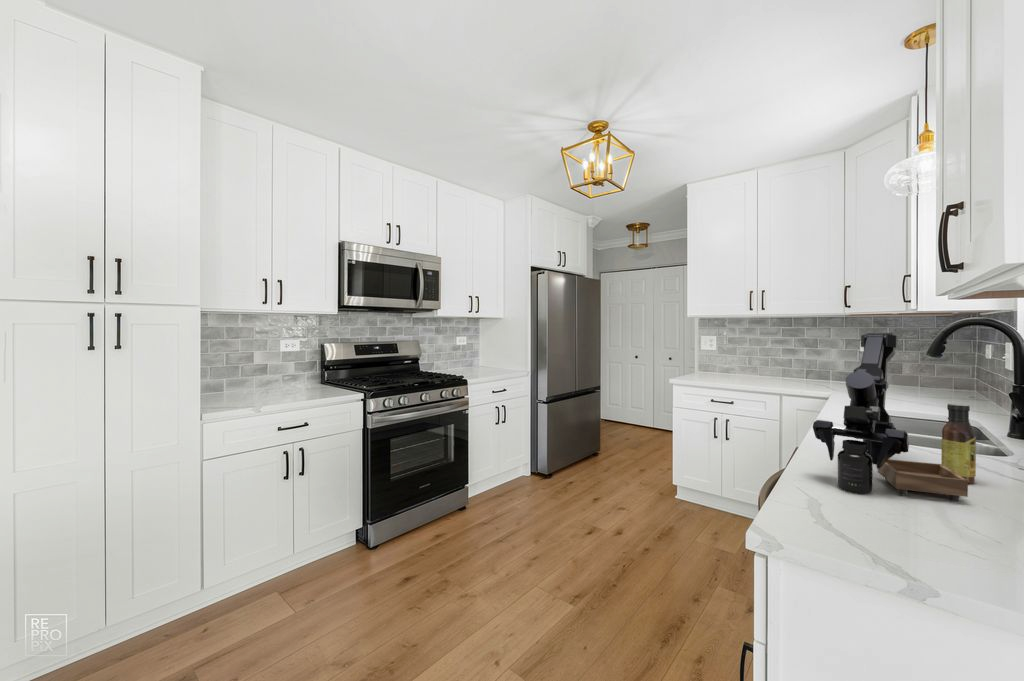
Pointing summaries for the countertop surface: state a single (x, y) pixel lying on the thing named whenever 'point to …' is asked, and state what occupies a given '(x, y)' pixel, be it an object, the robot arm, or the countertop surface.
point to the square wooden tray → (924, 478)
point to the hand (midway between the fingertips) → (853, 463)
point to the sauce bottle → (959, 442)
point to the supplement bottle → (855, 467)
